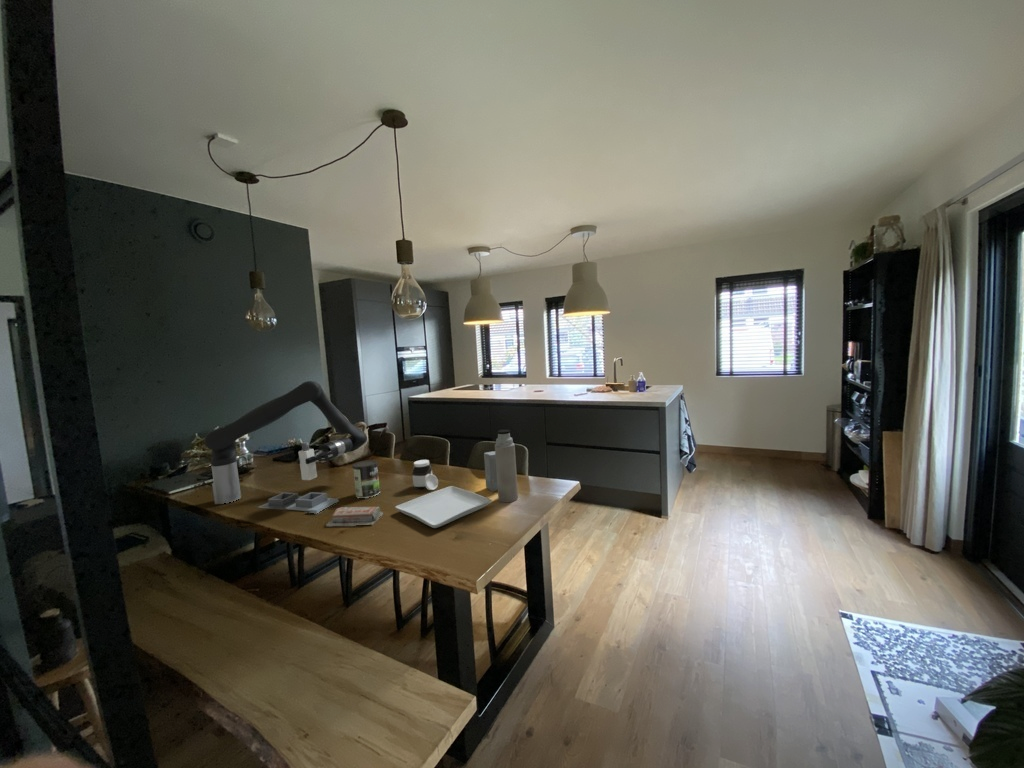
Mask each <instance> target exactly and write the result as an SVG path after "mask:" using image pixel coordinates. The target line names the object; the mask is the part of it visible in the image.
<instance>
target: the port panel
mask: <svg viewBox="0 0 1024 768" xmlns="http://www.w3.org/2000/svg"><path fill="white" fill-rule="evenodd" d="M301 496H302V497H300V498H298V499H296V500H295V502H296V503H294V504H292V505H290V506H288V507H286V508H285V509H284V510H289V511H292V510H293V511H300V512H301V511H304V512H306V514H310V513H314V515H318V514H320V513H321V512H320V511H322V510H323V509H325V508H327V507H329V506H330V505H332V504H334V503H336V502H338V503H339V498H332V497H329V498H328V492H316V491H315V492H314V491H312V492H311V491H310V492H308V493H306V494H304V495H301ZM336 504H337V503H336ZM334 505H335V504H334ZM329 508H330V507H329ZM327 509H328V508H327ZM325 510H326V509H325ZM319 512H320V513H319ZM322 512H323V511H322ZM317 513H318V514H317Z"/></svg>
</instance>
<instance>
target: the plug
mask: <svg viewBox="0 0 1024 768" xmlns="http://www.w3.org/2000/svg"><path fill="white" fill-rule="evenodd" d="M314 451H315V450H314V448H310V442H308V441H306V442H301V450H299V451H298V458H299V459H300V464H299V468H300V474H301V481H311V480H314V479H315V478H318V472H317V464H316V463H317V462H312V463H310V464H306V461H305V460H306V459H307V458H310V457H312V456H313V457H314Z"/></svg>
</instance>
